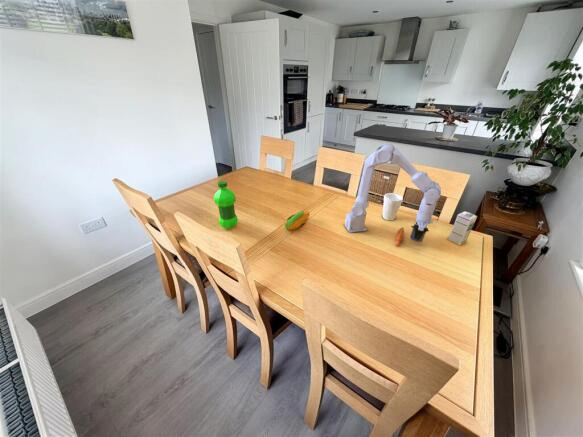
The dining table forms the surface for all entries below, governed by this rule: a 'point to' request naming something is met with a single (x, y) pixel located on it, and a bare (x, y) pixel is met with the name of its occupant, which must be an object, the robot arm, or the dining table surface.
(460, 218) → the syrup box
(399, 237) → the carrot
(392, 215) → the foam cup
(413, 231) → the mug
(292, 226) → the hot dog
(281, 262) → the dining table surface
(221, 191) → the plastic bottle
